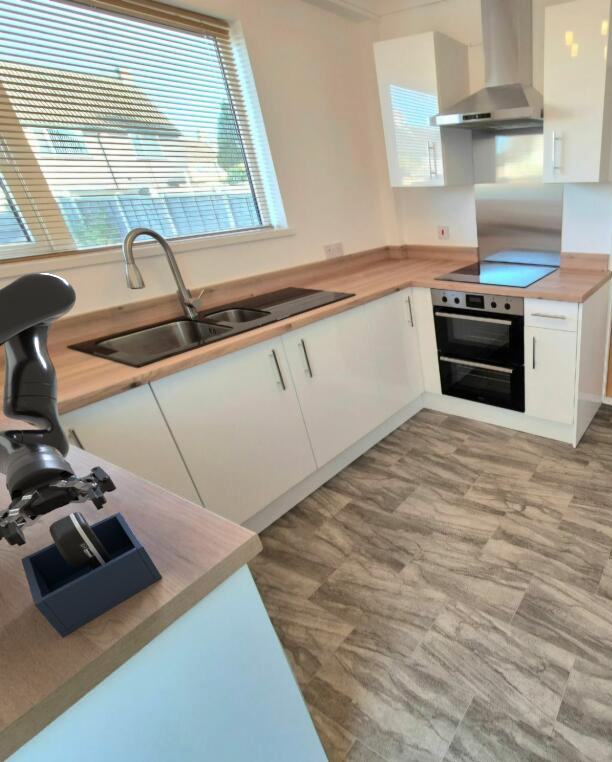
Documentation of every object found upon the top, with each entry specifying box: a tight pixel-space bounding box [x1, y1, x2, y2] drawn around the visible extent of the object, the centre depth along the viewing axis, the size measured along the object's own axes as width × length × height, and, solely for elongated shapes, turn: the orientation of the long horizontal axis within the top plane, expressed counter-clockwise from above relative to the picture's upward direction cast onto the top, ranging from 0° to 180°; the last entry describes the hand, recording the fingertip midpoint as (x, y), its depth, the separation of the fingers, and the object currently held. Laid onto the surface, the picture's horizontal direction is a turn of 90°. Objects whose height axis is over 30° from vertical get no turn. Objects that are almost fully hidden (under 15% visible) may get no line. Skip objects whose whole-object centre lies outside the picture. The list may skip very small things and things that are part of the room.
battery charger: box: [49, 511, 112, 573], centre depth 63 cm, size 7×4×11 cm, turn 53°
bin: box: [21, 511, 163, 638], centre depth 64 cm, size 12×13×7 cm
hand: (59, 521), depth 62 cm, fingers open, 8 cm apart
